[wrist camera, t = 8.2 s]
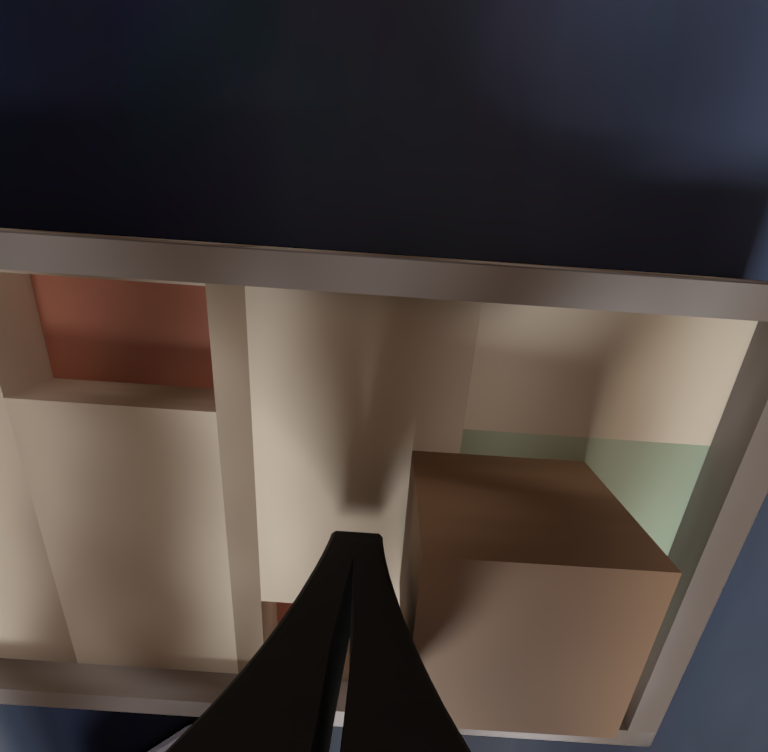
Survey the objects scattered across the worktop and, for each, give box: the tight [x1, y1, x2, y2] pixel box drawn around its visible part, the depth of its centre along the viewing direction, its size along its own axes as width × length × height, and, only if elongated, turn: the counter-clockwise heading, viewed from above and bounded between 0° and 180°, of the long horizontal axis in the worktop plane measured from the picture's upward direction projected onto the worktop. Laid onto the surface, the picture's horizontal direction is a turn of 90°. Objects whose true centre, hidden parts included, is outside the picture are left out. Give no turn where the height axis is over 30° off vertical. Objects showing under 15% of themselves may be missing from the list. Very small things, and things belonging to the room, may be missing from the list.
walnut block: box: [399, 451, 682, 738], centre depth 10 cm, size 5×5×4 cm
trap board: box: [0, 228, 768, 747], centre depth 13 cm, size 31×16×3 cm, turn 86°
